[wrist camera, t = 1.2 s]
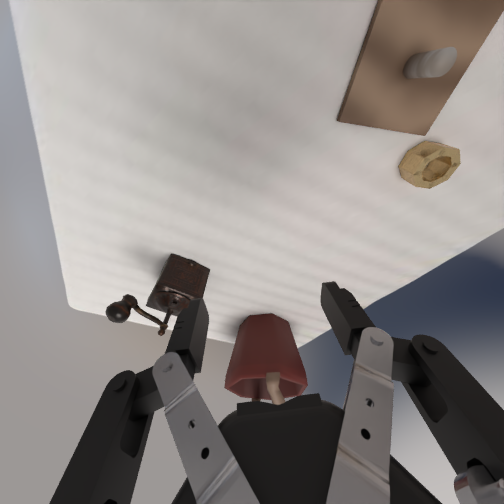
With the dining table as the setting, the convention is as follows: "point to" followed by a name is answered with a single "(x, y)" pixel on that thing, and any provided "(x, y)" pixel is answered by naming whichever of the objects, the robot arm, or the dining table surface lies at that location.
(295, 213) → the dining table surface
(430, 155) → the gold octagonal ring
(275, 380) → the bucket
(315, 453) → the robot arm
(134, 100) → the dining table surface
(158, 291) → the manual coffee grinder
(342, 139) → the dining table surface
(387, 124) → the post stand
